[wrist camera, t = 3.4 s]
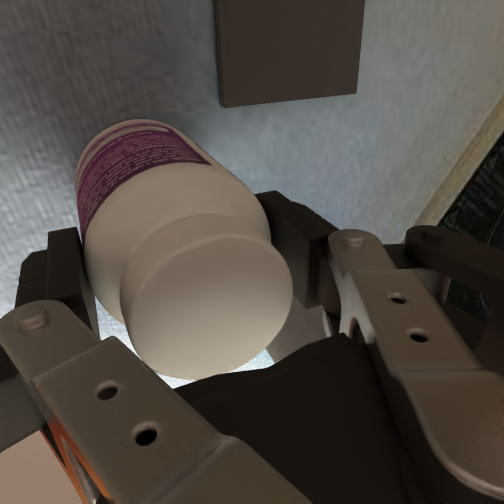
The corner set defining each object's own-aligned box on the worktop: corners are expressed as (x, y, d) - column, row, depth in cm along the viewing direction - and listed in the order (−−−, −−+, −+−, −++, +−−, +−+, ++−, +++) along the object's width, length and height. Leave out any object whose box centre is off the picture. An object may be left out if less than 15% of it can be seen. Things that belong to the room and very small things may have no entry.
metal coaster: (206, -97, 13) (210, -100, 13) (367, -86, 15) (373, -89, 15) (220, 106, 17) (223, 108, 16) (351, 92, 19) (356, 93, 18)
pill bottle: (57, 222, 16) (56, 401, 8) (97, 94, 15) (140, 166, 7) (180, 252, 19) (263, 406, 11) (223, 146, 17) (355, 240, 10)
